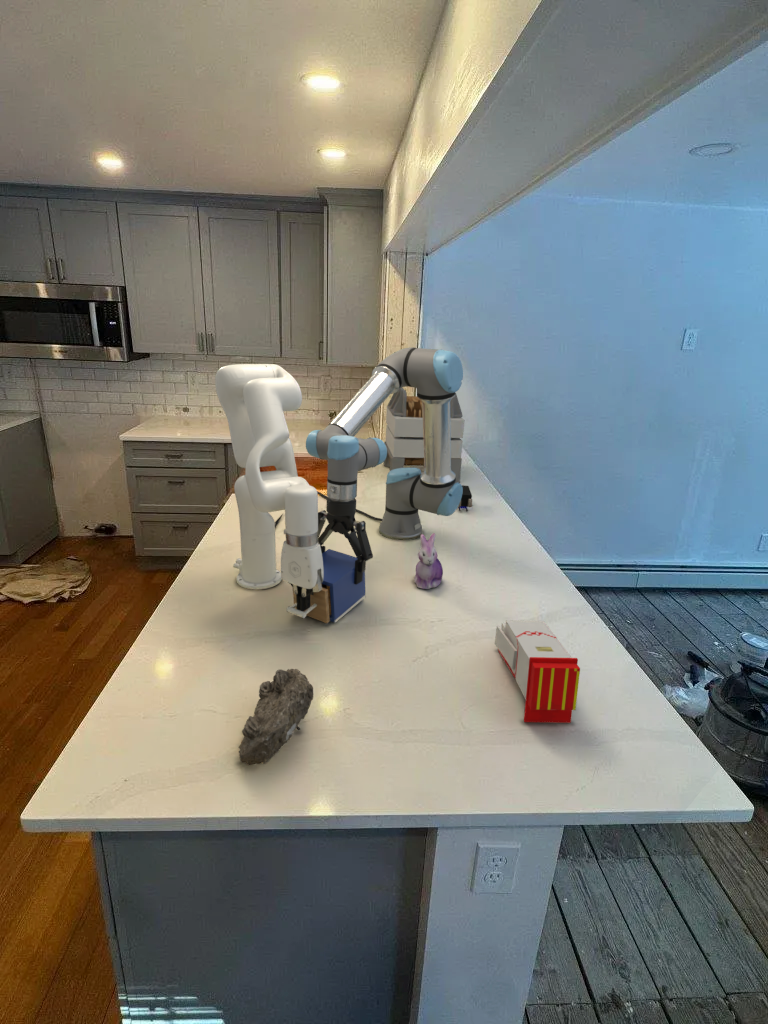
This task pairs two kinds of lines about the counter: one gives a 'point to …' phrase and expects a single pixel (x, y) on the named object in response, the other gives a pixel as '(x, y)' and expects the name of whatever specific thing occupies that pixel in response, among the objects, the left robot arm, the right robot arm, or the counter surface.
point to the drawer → (315, 605)
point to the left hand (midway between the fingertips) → (303, 608)
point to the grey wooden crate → (417, 432)
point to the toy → (540, 670)
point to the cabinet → (341, 583)
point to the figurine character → (465, 498)
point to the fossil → (275, 716)
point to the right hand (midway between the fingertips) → (338, 576)
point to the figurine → (428, 565)
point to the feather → (278, 520)
